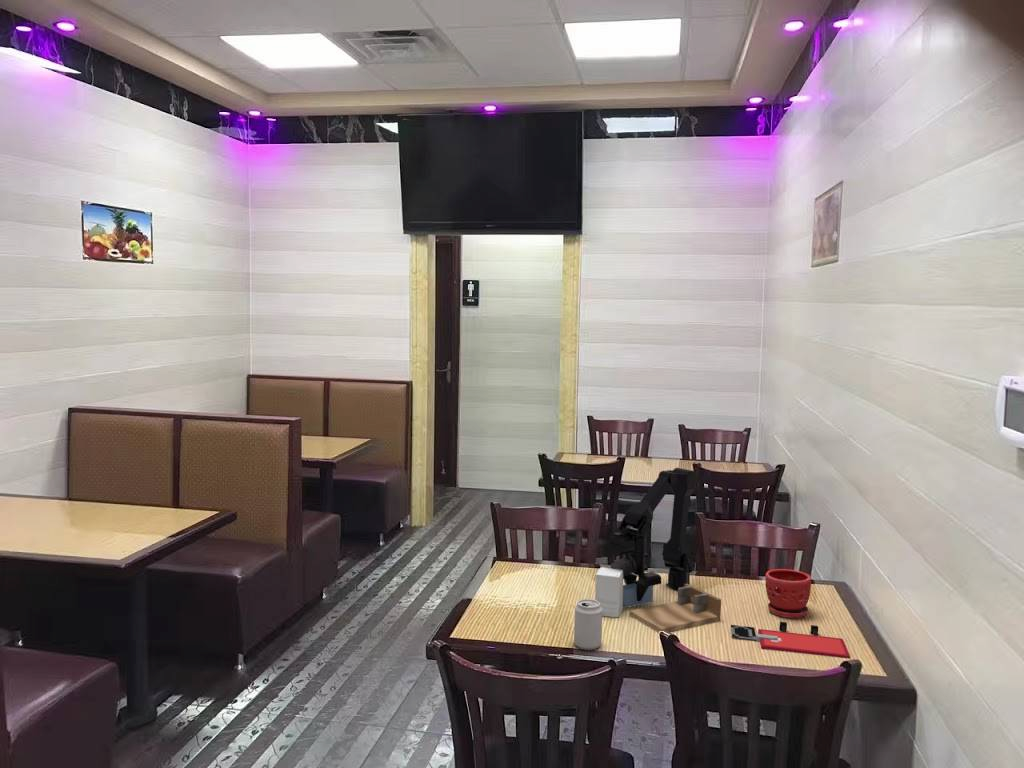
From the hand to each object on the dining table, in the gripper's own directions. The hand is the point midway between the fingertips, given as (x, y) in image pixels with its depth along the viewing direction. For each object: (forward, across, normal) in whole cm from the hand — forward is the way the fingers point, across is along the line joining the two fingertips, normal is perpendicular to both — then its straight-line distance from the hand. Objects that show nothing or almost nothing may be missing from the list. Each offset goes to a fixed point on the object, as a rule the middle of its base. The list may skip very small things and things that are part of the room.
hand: (634, 598), depth 243 cm
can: (+2, +20, -31) cm, 37 cm away
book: (+1, 0, 0) cm, 1 cm away
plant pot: (+1, +27, +37) cm, 46 cm away
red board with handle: (+2, +42, +21) cm, 47 cm away
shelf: (+1, +16, +3) cm, 16 cm away
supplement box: (+2, +3, -12) cm, 12 cm away
